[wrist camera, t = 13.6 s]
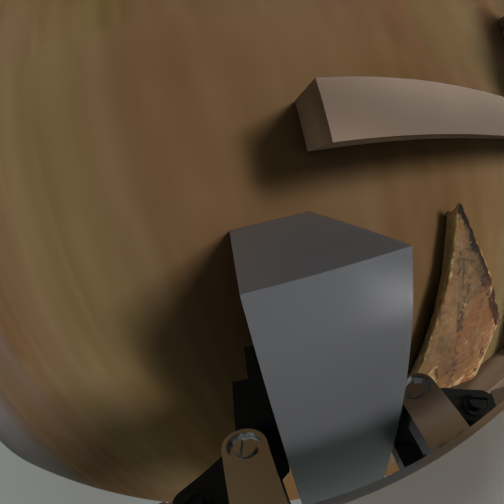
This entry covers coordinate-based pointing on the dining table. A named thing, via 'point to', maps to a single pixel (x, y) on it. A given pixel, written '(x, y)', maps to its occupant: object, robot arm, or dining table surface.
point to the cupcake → (502, 25)
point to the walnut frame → (401, 134)
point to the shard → (459, 309)
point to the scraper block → (329, 343)
